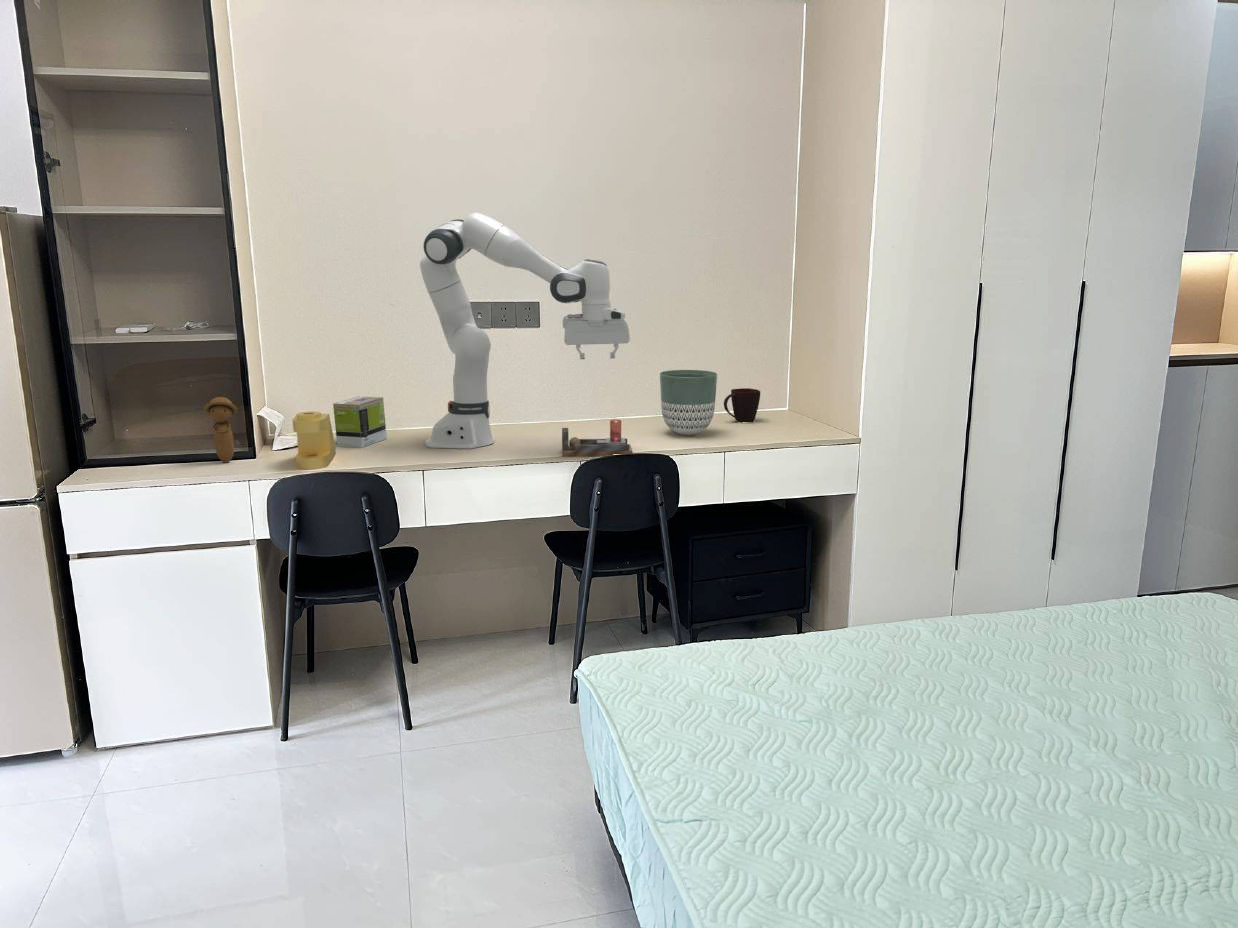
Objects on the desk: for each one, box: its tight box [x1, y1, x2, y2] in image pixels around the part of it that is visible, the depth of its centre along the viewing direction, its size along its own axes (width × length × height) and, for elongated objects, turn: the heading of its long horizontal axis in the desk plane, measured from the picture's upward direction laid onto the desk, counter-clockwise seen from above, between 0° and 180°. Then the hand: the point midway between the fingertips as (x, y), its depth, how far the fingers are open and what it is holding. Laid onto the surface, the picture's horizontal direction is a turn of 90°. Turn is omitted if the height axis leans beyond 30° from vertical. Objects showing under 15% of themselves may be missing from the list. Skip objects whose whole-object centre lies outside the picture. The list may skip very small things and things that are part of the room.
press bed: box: [561, 427, 634, 458], centre depth 280 cm, size 22×10×8 cm, turn 94°
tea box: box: [332, 396, 387, 449], centre depth 293 cm, size 15×10×15 cm, turn 162°
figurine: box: [203, 396, 238, 463], centre depth 265 cm, size 9×7×20 cm
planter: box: [659, 369, 718, 436], centre depth 307 cm, size 20×20×21 cm
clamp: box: [292, 411, 337, 471], centre depth 266 cm, size 20×9×16 cm, turn 10°
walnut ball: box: [569, 436, 580, 446], centre depth 279 cm, size 4×4×4 cm
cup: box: [723, 387, 761, 423], centre depth 330 cm, size 10×14×12 cm
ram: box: [597, 418, 626, 445], centre depth 279 cm, size 9×7×9 cm
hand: (597, 358), depth 273 cm, fingers open, 8 cm apart
